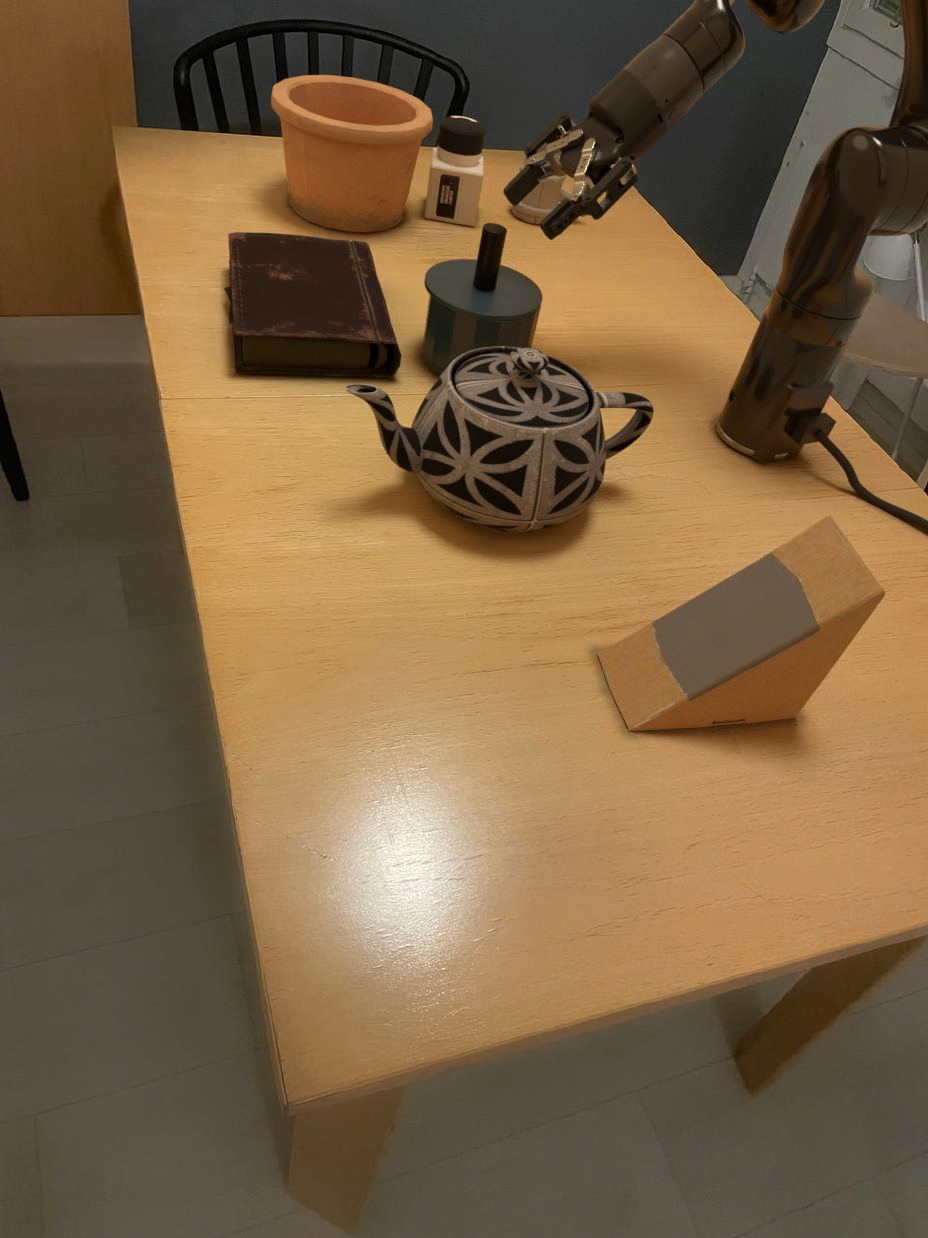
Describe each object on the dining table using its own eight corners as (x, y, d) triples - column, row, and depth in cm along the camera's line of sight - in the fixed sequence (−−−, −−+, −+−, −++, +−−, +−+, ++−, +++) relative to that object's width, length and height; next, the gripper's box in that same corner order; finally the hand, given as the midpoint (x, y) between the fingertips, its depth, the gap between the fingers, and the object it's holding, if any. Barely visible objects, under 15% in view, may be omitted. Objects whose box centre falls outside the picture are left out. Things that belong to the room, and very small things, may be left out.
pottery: (238, 198, 125) (236, 86, 115) (339, 168, 139) (345, 66, 129) (355, 255, 119) (363, 141, 109) (448, 217, 133) (463, 114, 123)
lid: (560, 322, 98) (578, 254, 92) (452, 329, 92) (463, 258, 87) (508, 266, 106) (522, 201, 100) (405, 270, 100) (413, 201, 95)
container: (474, 227, 132) (490, 134, 123) (423, 218, 131) (435, 124, 122) (475, 207, 137) (490, 117, 128) (426, 199, 137) (438, 107, 127)
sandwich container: (594, 651, 74) (649, 513, 63) (753, 642, 78) (830, 512, 67) (627, 733, 68) (694, 598, 58) (797, 719, 72) (889, 590, 62)
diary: (369, 277, 115) (373, 239, 112) (399, 380, 99) (404, 339, 95) (222, 268, 110) (221, 227, 107) (227, 375, 94) (226, 331, 90)
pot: (542, 384, 103) (559, 317, 97) (447, 394, 98) (458, 324, 92) (497, 331, 110) (510, 266, 104) (406, 338, 105) (414, 269, 99)
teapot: (318, 438, 89) (326, 297, 78) (592, 430, 98) (631, 303, 87) (355, 566, 76) (370, 420, 66) (663, 543, 86) (720, 412, 75)
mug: (508, 202, 141) (523, 120, 133) (579, 213, 143) (599, 133, 134) (511, 221, 136) (527, 138, 127) (585, 232, 138) (606, 151, 129)
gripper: (596, 47, 91) (479, 163, 94) (672, 93, 82) (540, 219, 86) (623, 105, 97) (512, 212, 100) (697, 154, 88) (573, 269, 92)
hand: (525, 215), depth 93 cm, fingers open, 8 cm apart
